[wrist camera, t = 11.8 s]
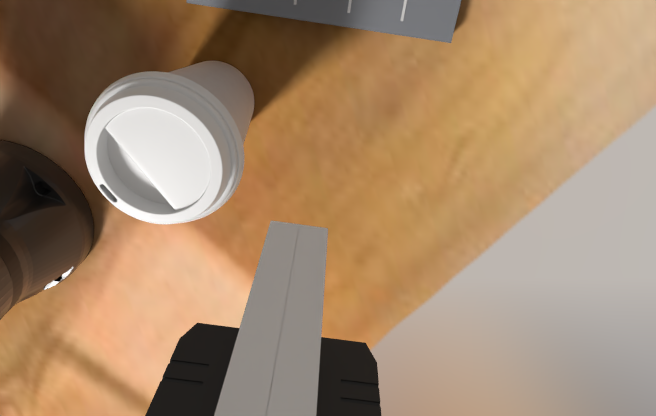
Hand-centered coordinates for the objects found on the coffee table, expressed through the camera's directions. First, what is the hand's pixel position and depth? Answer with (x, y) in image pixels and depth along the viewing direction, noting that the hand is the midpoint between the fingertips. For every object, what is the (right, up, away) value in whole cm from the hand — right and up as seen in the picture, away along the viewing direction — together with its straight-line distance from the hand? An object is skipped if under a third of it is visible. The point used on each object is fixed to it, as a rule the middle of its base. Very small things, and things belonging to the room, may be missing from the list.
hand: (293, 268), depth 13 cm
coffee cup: (-9, +11, +28) cm, 31 cm away
